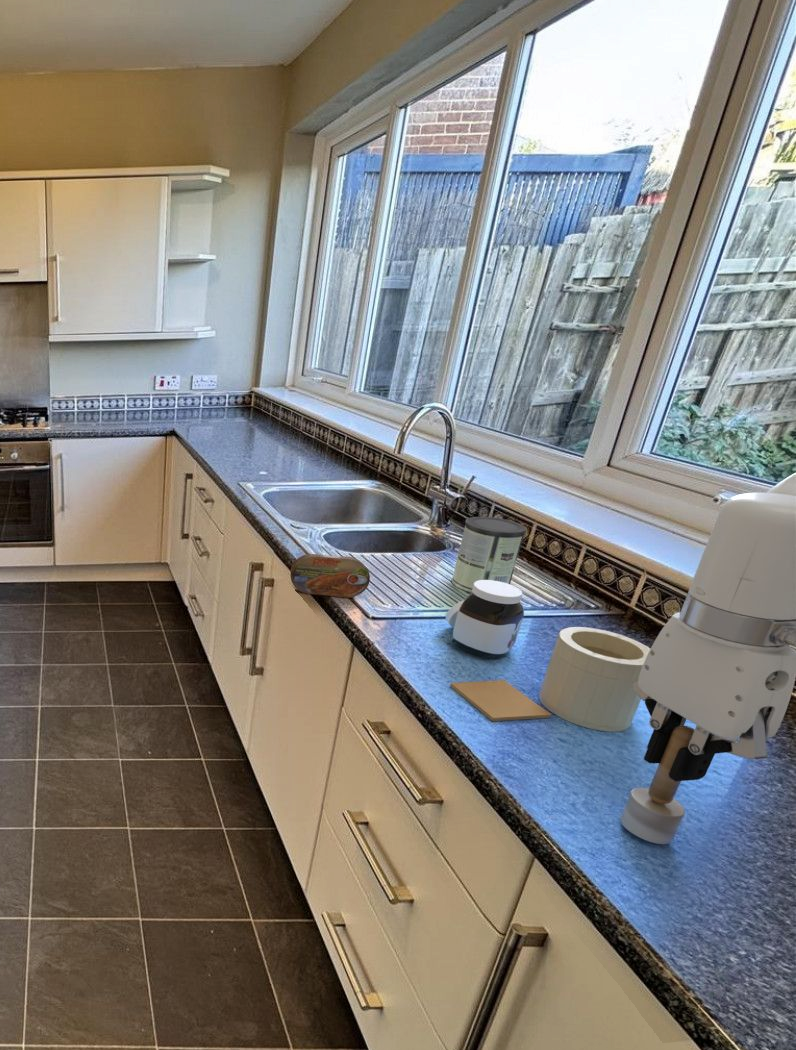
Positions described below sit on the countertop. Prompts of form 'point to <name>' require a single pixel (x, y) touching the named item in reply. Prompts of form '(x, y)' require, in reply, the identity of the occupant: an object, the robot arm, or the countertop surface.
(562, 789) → the countertop surface
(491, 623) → the spread jar
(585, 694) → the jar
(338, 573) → the tin
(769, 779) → the countertop surface
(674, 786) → the round handled stamp
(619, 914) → the countertop surface
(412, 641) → the countertop surface
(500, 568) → the coffee can
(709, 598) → the robot arm
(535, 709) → the mat
